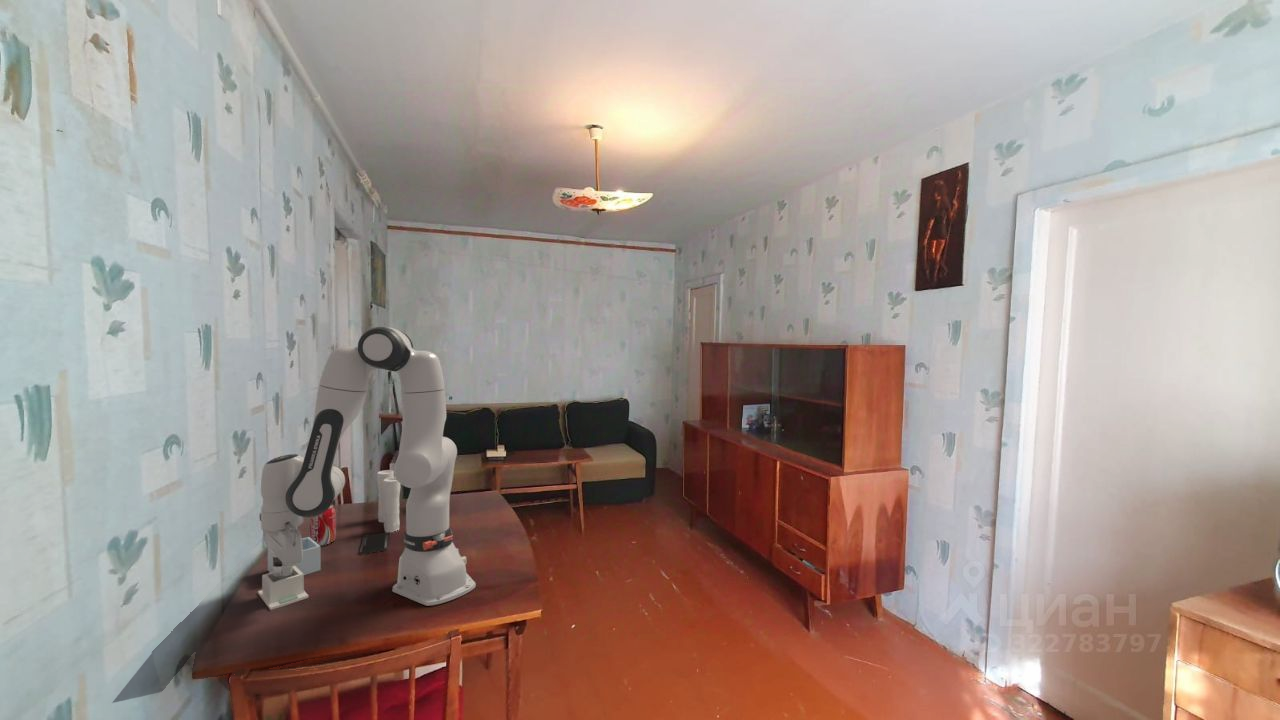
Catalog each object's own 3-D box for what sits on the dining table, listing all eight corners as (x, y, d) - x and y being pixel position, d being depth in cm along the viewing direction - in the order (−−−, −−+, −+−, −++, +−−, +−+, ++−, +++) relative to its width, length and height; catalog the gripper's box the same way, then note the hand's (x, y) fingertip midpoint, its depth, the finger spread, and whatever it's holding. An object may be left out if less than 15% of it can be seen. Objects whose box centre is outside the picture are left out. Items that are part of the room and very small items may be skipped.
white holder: (308, 597, 125) (308, 576, 125) (270, 610, 119) (270, 588, 119) (294, 582, 133) (294, 562, 133) (258, 593, 127) (257, 572, 127)
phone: (389, 531, 168) (387, 548, 154) (389, 535, 168) (387, 552, 154) (363, 535, 164) (359, 552, 151) (363, 538, 165) (359, 556, 151)
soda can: (304, 546, 157) (304, 509, 156) (323, 537, 164) (323, 502, 163) (322, 548, 155) (322, 511, 155) (341, 540, 162) (340, 504, 162)
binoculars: (402, 530, 171) (402, 479, 170) (384, 534, 168) (384, 482, 167) (392, 516, 185) (392, 469, 184) (375, 519, 181) (375, 471, 181)
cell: (294, 586, 126) (294, 550, 126) (275, 592, 123) (275, 555, 123) (290, 581, 129) (289, 545, 129) (271, 587, 126) (270, 550, 126)
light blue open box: (320, 570, 141) (320, 546, 140) (277, 583, 133) (277, 557, 133) (309, 559, 147) (309, 536, 147) (267, 571, 139) (267, 547, 139)
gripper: (310, 525, 121) (310, 579, 122) (286, 506, 135) (286, 556, 135) (279, 532, 117) (279, 589, 117) (257, 512, 130) (258, 563, 130)
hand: (283, 571), depth 126 cm, fingers closed on cell, 4 cm apart
